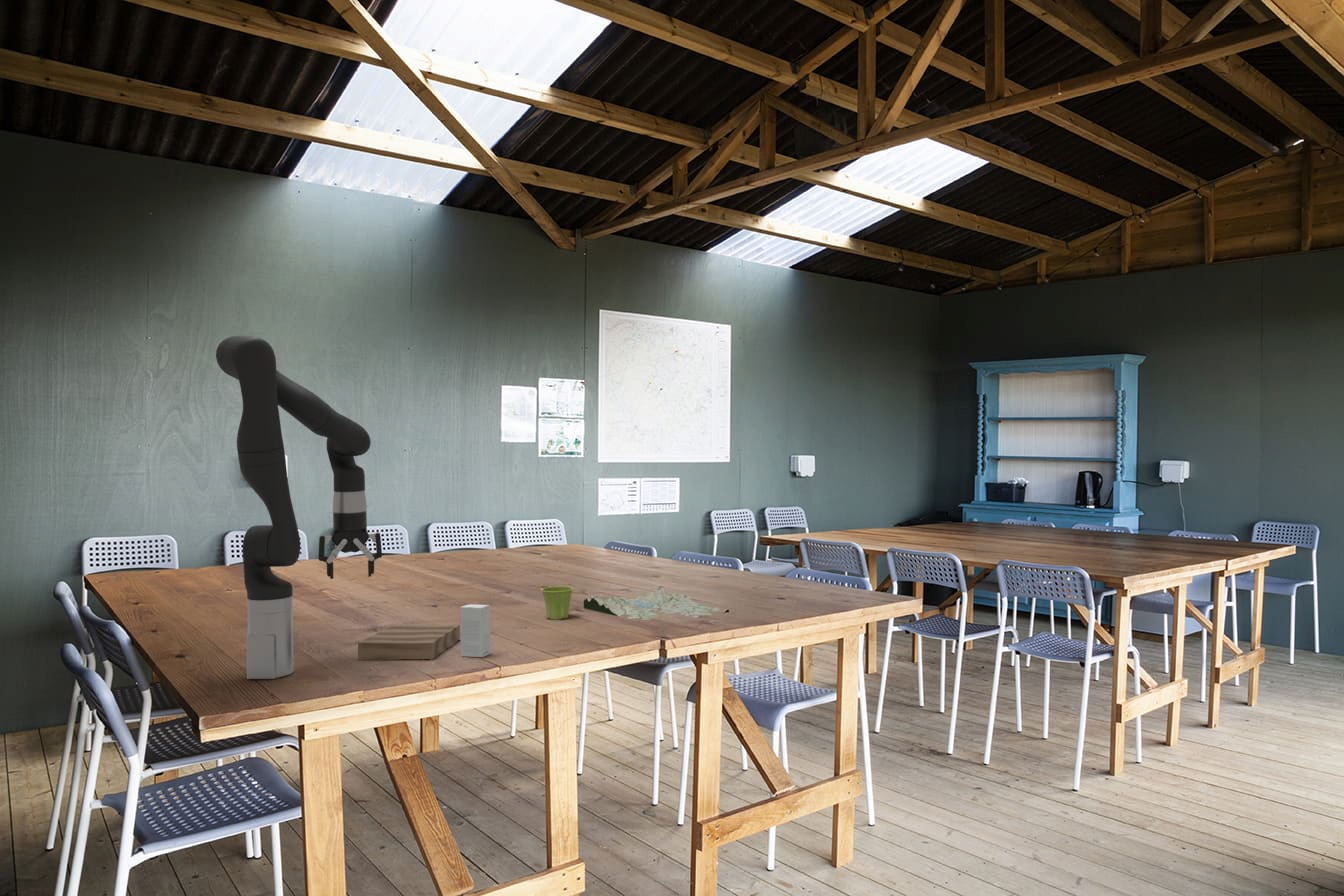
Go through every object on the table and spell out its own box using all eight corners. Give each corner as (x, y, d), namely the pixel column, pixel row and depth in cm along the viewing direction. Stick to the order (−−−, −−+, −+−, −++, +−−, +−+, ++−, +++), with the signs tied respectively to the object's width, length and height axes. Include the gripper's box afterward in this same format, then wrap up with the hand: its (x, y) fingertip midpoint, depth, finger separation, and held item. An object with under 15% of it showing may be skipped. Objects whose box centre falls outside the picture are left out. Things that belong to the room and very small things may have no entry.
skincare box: (491, 653, 214) (490, 604, 214) (482, 657, 210) (482, 607, 210) (468, 652, 216) (468, 603, 216) (460, 656, 212) (459, 606, 212)
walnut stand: (432, 659, 208) (432, 643, 208) (358, 659, 209) (357, 643, 209) (460, 640, 230) (459, 624, 230) (392, 640, 231) (392, 625, 231)
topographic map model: (729, 614, 267) (729, 597, 267) (652, 627, 249) (652, 609, 249) (657, 599, 295) (657, 584, 295) (583, 610, 276) (583, 594, 276)
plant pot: (571, 620, 255) (571, 590, 255) (539, 621, 256) (538, 591, 256) (575, 615, 265) (575, 586, 265) (544, 615, 265) (544, 586, 265)
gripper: (316, 512, 204) (318, 582, 205) (381, 510, 209) (382, 578, 210) (318, 509, 211) (319, 576, 212) (380, 507, 216) (382, 572, 217)
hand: (351, 577), depth 211 cm, fingers open, 8 cm apart
